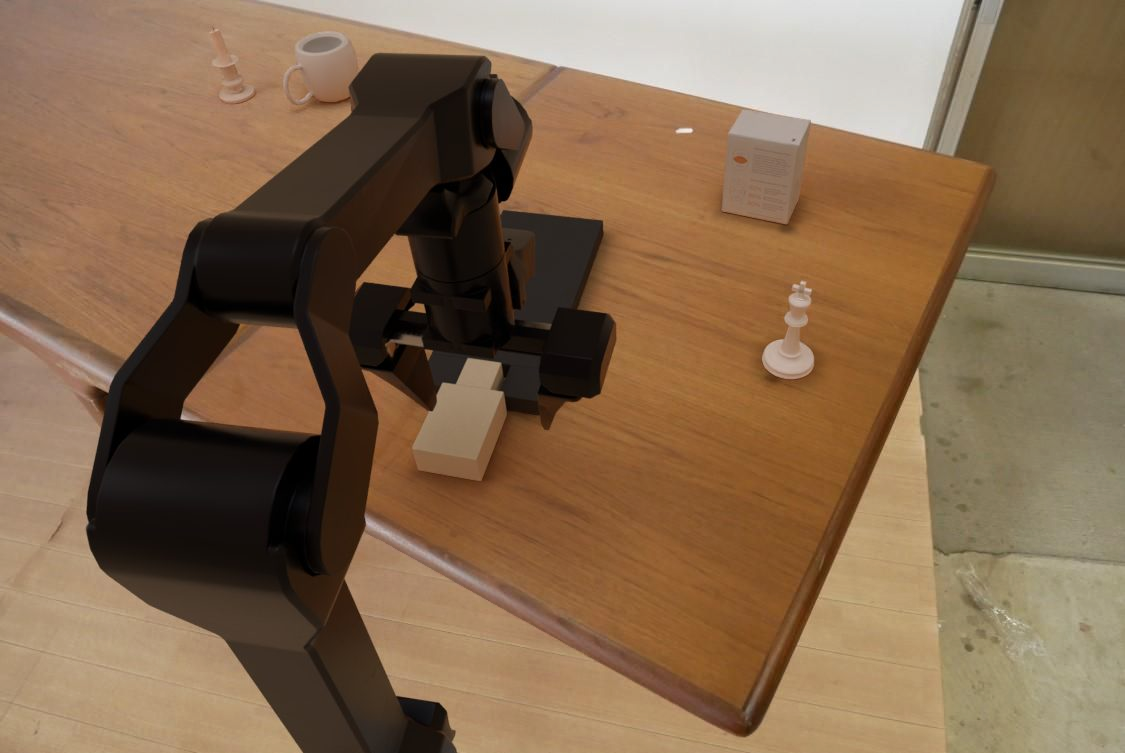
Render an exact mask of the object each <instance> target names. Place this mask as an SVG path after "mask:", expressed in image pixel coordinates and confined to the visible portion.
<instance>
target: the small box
mask: <svg viewBox="0 0 1125 753" xmlns="http://www.w3.org/2000/svg"><path fill="white" fill-rule="evenodd" d="M811 124H812V121H811V119H806V118H800V117H794V116H788V115H781V114H776V113H768V112H763V111H757V110H751V109H744V108H742V110H741V111H740V113H739V114H738V116H737V118H736V119H735V121H734V122H733V124H732V126H731V128H730V129H729V131H728V132H727V137H726V138H727V139H726V148H725V149H726V151H725V152H726V153H725V160H724V161H725V162H724V175H723V187H722V188H723V189H722V200H721V212H724V213H728V214H734V215H737V216H738V215H739V216H743V217H747V218H753V219H758V220H762V221H768V222H772V223H777V224H781V225H788V224H789V222H790V220H791V217H792V216H793V213H794V210H795V208H796V206H797V204H798V201H799V199H800V195H801V189H802V183H803V177H804V169H805V163H806V158H807V151H808V150H807V149H808V145H809V137H810V133H811V132H810V130H811Z"/></svg>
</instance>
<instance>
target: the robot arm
mask: <svg viewBox="0 0 1125 753" xmlns="http://www.w3.org/2000/svg"><path fill="white" fill-rule="evenodd" d="M492 66H493V64H492V61H491V60H490V59H489V57H487V56H486V55H479V54H478V55H475V54H474V55H473V54H442V53H438V54H437V53H410V52H409V53H408V52H407V53H404V52H398V53H397V52H376V53H373V54H372V55H371V56H370V58H368V60H367V61H366V62H365V64H364V65H363V66H362V68H361V69H360V70H359V73H358V74H357V76H356V77H355V78H354V80H353V81H352V82H351V83H350V85H349V86H348V88H349V94H350V97H349V100H350V111H351V112H350V114H349V115H348V116H347V117H345V118H344V119H343V120H342V121H340V122H339V123H338V124H337V125H335V127H333V128H332V129H331V130H329V131H328V132H327V133H326V134H325V135H323V136H322V137H321V138H320V139H318V140H317V141H316V142H315V143H314V144H312V145H311V146H310V147H308V148H307V149H306V150H305V151H304V152H302V153H301V154H300V155H299V156H298V157H296V158H295V159H294V160H293V161H291V162H290V163H289V164H287V165H286V166H285V167H284V168H282V169H281V170H280V171H279V172H278V173H277V174H275V175H274V176H273V177H272V178H270V179H269V180H268V181H267V182H266V183H264V184H263V185H262V186H261V187H259V188H258V189H257V190H255V192H253V193H252V194H251V195H249V196H248V197H247V198H246V199H244V200H243V201H242V202H241V203H240V204H239V205H237V206H236V207H235V208H234V209H231V210H229V211H224V212H220V213H218V214H216V215H215V216H214V217H207V218H205V219H203V220H200V221H198V222H197V223H196V224H195V225H194V227H193V228H192V230H190V232H189V233H188V236H187V239H186V241H185V245H184V247H183V251H182V254H181V260H180V264H179V270H178V275H177V280H176V284H175V290H174V295H173V299H172V300H171V302H170V304H168V306H167V307H166V308H165V310H164V311H163V312H162V313H161V314H160V316H159V317H158V319H157V320H156V321H155V322H154V324H153V325H152V327H150V329H149V330H148V332H147V333H146V334H145V335H144V337H143V338H142V339H141V341H140V342H139V343H138V344H137V346H136V347H135V348H134V350H133V351H132V352H131V354H130V355H129V356H128V357H127V359H126V360H125V361H124V362H123V364H122V365H121V367H120V368H119V369H118V370H117V372H116V373H115V374H114V375H113V378H112V380H111V383H110V385H109V387H108V393H107V398H106V403H105V407H104V413H103V417H102V420H101V426H100V430H99V431H100V432H99V436H98V441H97V446H96V450H95V455H94V460H93V465H92V469H91V474H90V479H89V484H88V489H87V495H86V509H85V514H86V519H87V521H88V523H87V524H86V526H85V533H86V538H87V543H88V548H89V550H90V552H91V554H92V556H93V558H94V560H95V562H96V563H97V565H98V568H99V569H100V570H101V571H102V572H103V573H104V574H106V576H108V577H109V578H110V579H112V580H113V581H114V582H116V583H117V584H119V585H120V586H121V587H123V588H124V589H126V590H127V591H128V592H130V593H131V594H133V595H134V596H135V597H136V598H138V599H139V600H141V601H142V602H143V603H145V604H146V605H148V606H150V607H151V608H154V609H156V610H159V611H161V612H163V613H165V614H168V615H171V616H173V617H175V618H177V619H179V620H181V621H184V622H186V623H189V624H191V625H194V626H196V627H198V628H201V629H203V630H206V631H207V632H210V633H212V634H215V635H216V636H218V637H220V638H221V639H222V640H223V641H225V642H226V644H227V646H228V648H229V649H230V650H231V652H232V654H234V656H235V658H236V659H237V660H238V662H239V664H241V666H242V668H243V669H244V670H245V672H246V673H247V675H248V677H250V679H251V680H252V682H253V683H254V685H255V687H256V688H257V689H258V691H259V692H260V693H261V695H262V697H263V698H264V699H265V700H266V702H267V704H268V705H269V707H270V708H271V710H272V711H273V712H274V714H275V715H276V716H277V718H278V719H279V721H280V722H281V724H282V725H283V726H284V728H285V729H286V730H287V732H288V734H289V736H290V737H291V738H292V739H293V741H294V743H295V744H296V745H297V747H298V748H299V749H300V751H301V752H302V753H458V750H457V749H458V748H457V747H456V746H455V744H454V742H453V741H454V739H455V738H456V733H457V730H456V729H453V728H452V727H451V724H450V721H449V714H448V711H447V709H446V708H445V707H444V706H443V705H442V704H441V702H438V701H431V700H427V699H419V698H413V697H407V696H401V695H396V692H395V690H394V688H393V685H392V682H391V680H390V679H389V677H388V674H387V672H386V670H385V668H384V665H383V663H382V661H381V658H380V656H379V654H378V652H377V649H376V647H375V645H374V642H373V640H372V638H371V635H370V633H369V631H368V628H367V626H366V625H365V622H364V620H363V618H362V615H361V613H360V611H359V609H358V606H357V604H356V602H355V599H354V597H353V595H352V592H351V590H350V588H349V585H348V583H347V581H346V579H345V578H346V576H347V574H348V571H349V569H350V566H351V564H352V561H353V559H354V556H355V554H356V551H357V549H358V547H359V545H360V542H361V540H362V537H363V534H364V532H365V530H366V527H367V520H366V516H365V515H366V509H367V503H368V496H369V489H370V484H371V483H370V482H371V477H372V471H373V470H372V469H373V462H374V458H375V457H374V456H375V450H376V444H377V438H378V431H379V424H380V422H379V412H378V409H377V406H376V404H375V402H374V399H373V396H372V393H371V391H370V389H369V385H368V383H367V381H366V377H365V375H364V372H365V371H366V372H370V373H372V374H373V375H375V376H376V377H378V378H380V379H381V380H382V381H384V382H386V383H387V384H389V385H391V386H392V387H394V388H396V389H397V390H398V391H400V392H401V393H402V394H404V395H405V396H406V397H408V398H409V399H411V400H412V401H414V402H415V403H416V404H418V405H419V406H420V407H422V408H423V409H425V410H426V411H427V412H429V411H431V412H432V411H433V410H434V408H435V406H436V404H437V396H436V389H435V384H434V381H433V377H432V374H431V370H430V367H429V363H428V360H429V358H428V357H427V352H426V351H432V352H433V351H439V352H446V353H453V354H460V355H467V356H474V357H481V358H488V359H494V357H495V355H496V353H497V351H504V352H511V353H518V354H525V355H532V356H539V357H541V358H540V365H539V380H540V384H541V385H540V387H539V390H538V393H537V396H538V404H539V412H540V414H539V417H540V418H539V419H540V425H541V427H542V428H543V430H544V431H550V429H551V428H552V427H551V426H552V424H553V422H554V419H555V416H556V414H557V413H558V411H559V410H560V409H561V408H562V407H563V406H564V404H566V403H567V402H568V403H577V402H580V401H581V400H582V399H593V398H595V397H597V396H599V395H601V394H602V391H603V388H604V383H605V381H606V377H607V375H608V374H607V373H608V371H609V367H610V363H611V360H612V357H613V353H614V350H615V346H616V343H617V322H616V320H615V319H614V318H613V316H612V315H611V314H610V313H607V312H600V311H593V310H587V309H586V310H585V309H578V308H577V309H571V308H563V307H558V309H557V312H556V314H555V317H554V320H553V322H552V324H546V323H539V322H531V321H524V320H516V319H514V311H515V310H522V309H523V306H524V304H525V301H526V290H525V284H526V283H527V281H528V280H529V279H530V278H533V277H534V274H535V234H534V233H533V232H531V231H527V230H518V229H509V228H502V225H501V218H500V215H501V212H500V210H501V209H500V204H501V203H504V202H507V201H508V200H509V198H510V197H511V195H512V192H513V189H514V188H515V184H516V182H517V179H518V176H519V174H520V171H521V169H522V166H523V163H524V160H525V157H526V155H527V153H528V150H529V147H530V144H531V142H532V138H533V133H534V132H533V130H534V126H533V120H532V119H531V118H530V116H529V114H528V112H527V110H526V108H525V107H524V106H523V105H522V103H521V102H520V101H519V100H518V99H516V98H515V97H514V96H512V95H511V92H510V91H509V89H508V87H507V85H506V83H505V81H504V79H503V78H499V75H498V74H497V73H492V68H493V67H492ZM394 235H395V236H397V237H399V236H400V237H407V240H408V245H409V248H410V249H409V250H410V254H411V257H412V262H413V266H414V270H415V275H416V278H415V280H414V282H413V283H412V285H411V286H410V287H407V286H398V285H391V284H384V283H375V282H369V281H368V282H367V281H363V282H362V283H361V285H359V286H358V288H357V282H358V280H359V279H360V277H361V276H362V275H363V274H364V273H365V272H366V270H367V269H368V268H369V267H370V265H371V264H372V263H373V262H374V260H375V259H376V258H377V256H378V255H380V253H381V251H383V249H384V248H385V247H386V245H387V244H388V243H389V242H390V240H391V239H392V238H393V237H394ZM416 304H419V305H423V307H424V311H425V312H423V311H422V312H421V311H416V310H415V311H414V310H411V308H413V307H414V306H415V305H416ZM241 325H247V326H248V325H249V326H261V327H272V328H282V329H283V328H284V329H294V330H295V329H296V330H298V334H299V336H300V339H301V342H302V345H303V347H304V350H305V353H306V355H307V358H308V361H309V364H310V367H311V369H312V372H313V375H314V377H315V381H316V384H317V386H318V388H319V391H320V394H321V398H322V400H323V402H324V414H323V419H322V424H321V432H320V433H312V432H302V431H295V430H294V431H293V430H284V429H275V428H265V427H256V426H247V425H237V424H228V423H219V422H210V421H202V420H201V421H199V420H191V419H182V415H183V409H184V403H185V401H186V399H187V398H188V397H189V395H190V394H191V393H192V392H193V391H194V389H195V387H196V386H197V385H198V384H199V382H200V381H201V380H202V378H203V377H204V376H205V374H206V373H207V372H208V371H209V370H210V368H211V367H212V366H213V365H214V363H215V361H216V360H217V359H218V358H219V356H220V355H221V354H222V353H223V351H224V350H225V348H227V346H228V345H229V343H230V342H231V341H232V339H233V338H234V337H235V336H236V334H237V332H238V330H239V328H240V326H241Z"/></svg>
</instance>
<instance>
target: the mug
mask: <svg viewBox="0 0 1125 753" xmlns="http://www.w3.org/2000/svg"><path fill="white" fill-rule="evenodd" d="M293 53H294V60H295V65H291V66H290V67H289V68H288V69H286V70H285V73H284V75H283V80H282V88H283V93H284V95H285V97H286V99H287V101H289V102H290V103H291V104H292V105H295V106H303V105H305V104H307V103H309V101H310V100H311V99H312V98H315V99H317V100H318V101H320V102H323V103H336V102H340V101H344V100H346V99H348V98H350V94H349V88H348V86H349V85H350V83H351V82H352V81H353V80H354V78H355V77H356V76H357V74H358V73H359V72H360V70H359V63H358V59H357V54H356V51H355V48H354V44H353V42H352V41H351V40H350V38H349V37H348V35H346V33H344V32H341V31H335V30H324V31H318V32H313V33H310V34H308V35H306V36H304V37H302V38H300V39H299V40H298V41H297V42H296V43H295V46H294V51H293ZM296 71H298V75H299V77H300V79H301V81H302V83H303V85H304V86H305V88H306V90H307V91H308V92H307V94H306V95H305V96H304V97H303V98H301V99H296V98H294V97H293V96H292V94H291V92H290V88H289V81H290V77H291V75H292V74H293V73H294V72H296Z"/></svg>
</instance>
